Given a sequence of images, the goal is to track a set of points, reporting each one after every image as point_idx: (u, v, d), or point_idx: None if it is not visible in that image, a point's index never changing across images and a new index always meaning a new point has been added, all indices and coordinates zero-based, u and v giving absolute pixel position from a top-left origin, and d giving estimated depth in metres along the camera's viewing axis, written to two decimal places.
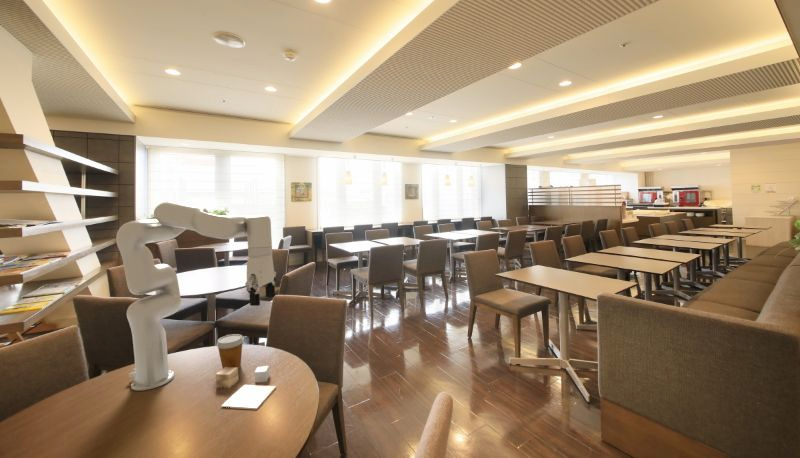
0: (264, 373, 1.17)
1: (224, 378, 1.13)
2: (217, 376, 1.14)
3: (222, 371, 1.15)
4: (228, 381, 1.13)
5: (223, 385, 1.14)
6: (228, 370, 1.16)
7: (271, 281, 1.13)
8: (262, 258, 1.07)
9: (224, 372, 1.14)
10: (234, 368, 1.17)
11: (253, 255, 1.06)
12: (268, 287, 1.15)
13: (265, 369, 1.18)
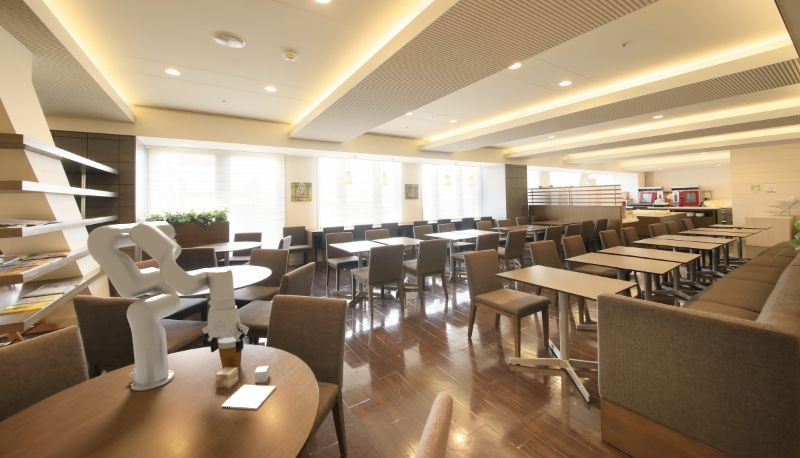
0: (264, 373, 1.17)
1: (224, 378, 1.13)
2: (217, 376, 1.14)
3: (222, 371, 1.15)
4: (228, 381, 1.13)
5: (223, 385, 1.14)
6: (228, 370, 1.16)
7: None
8: None
9: (224, 372, 1.14)
10: (234, 368, 1.17)
11: (232, 306, 1.13)
12: (214, 341, 1.15)
13: (265, 369, 1.18)
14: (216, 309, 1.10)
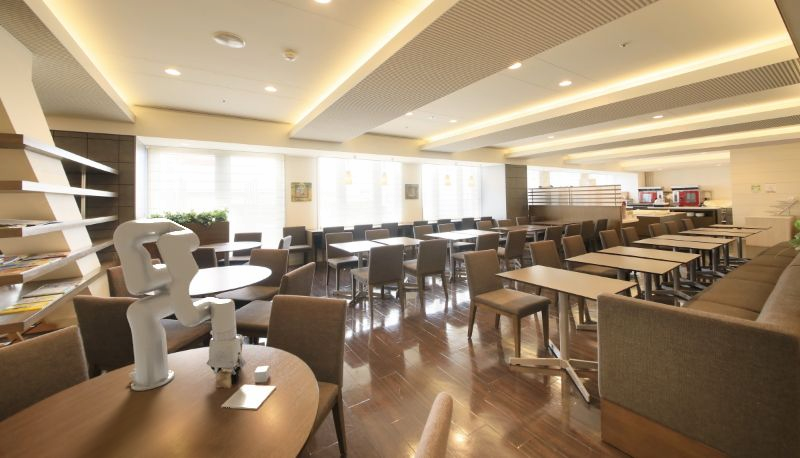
0: (264, 373, 1.17)
1: (224, 377, 1.13)
2: (217, 376, 1.14)
3: (222, 371, 1.15)
4: (228, 380, 1.13)
5: (223, 385, 1.14)
6: (228, 370, 1.16)
7: None
8: None
9: (224, 372, 1.14)
10: None
11: (233, 336, 1.14)
12: None
13: (265, 369, 1.18)
14: (218, 340, 1.11)
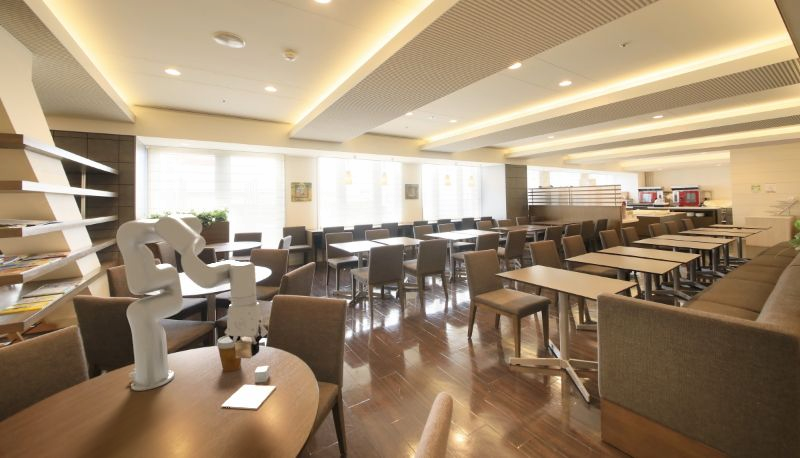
0: (264, 373, 1.17)
1: (244, 347, 1.04)
2: (236, 345, 1.04)
3: (241, 340, 1.06)
4: (249, 350, 1.04)
5: (243, 355, 1.04)
6: (248, 339, 1.06)
7: None
8: None
9: (244, 341, 1.05)
10: None
11: (254, 302, 1.04)
12: None
13: (265, 369, 1.18)
14: (237, 305, 1.01)
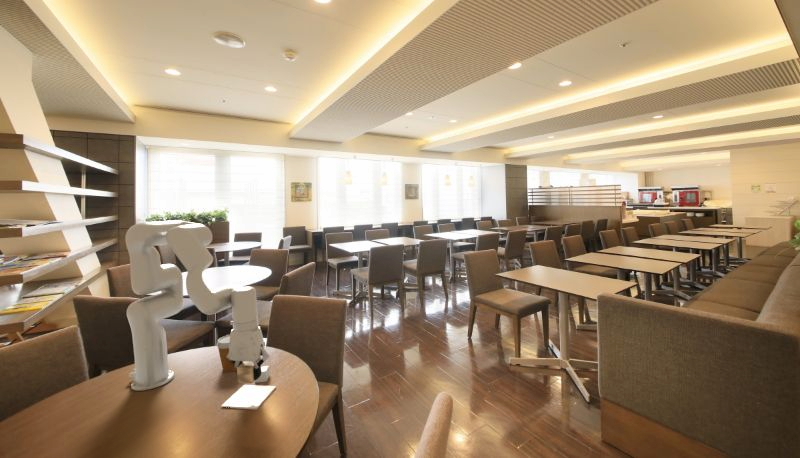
0: (264, 373, 1.17)
1: (246, 372, 1.04)
2: (238, 370, 1.05)
3: (243, 364, 1.06)
4: (251, 375, 1.04)
5: (245, 380, 1.05)
6: (250, 364, 1.07)
7: None
8: None
9: (246, 366, 1.05)
10: None
11: (255, 327, 1.05)
12: None
13: (265, 369, 1.18)
14: (239, 331, 1.02)
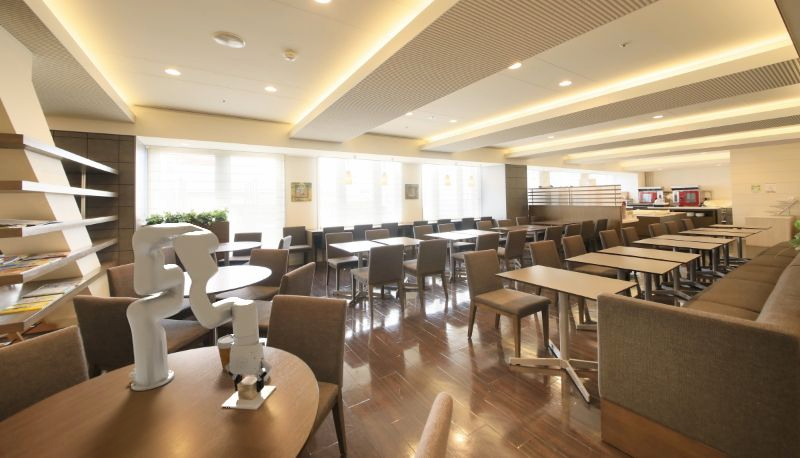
0: None
1: (246, 389, 1.05)
2: (239, 387, 1.05)
3: (244, 381, 1.07)
4: (251, 392, 1.05)
5: (245, 396, 1.05)
6: (250, 380, 1.07)
7: None
8: None
9: (246, 383, 1.06)
10: (256, 378, 1.09)
11: (256, 340, 1.05)
12: (238, 379, 1.07)
13: None
14: (240, 345, 1.02)
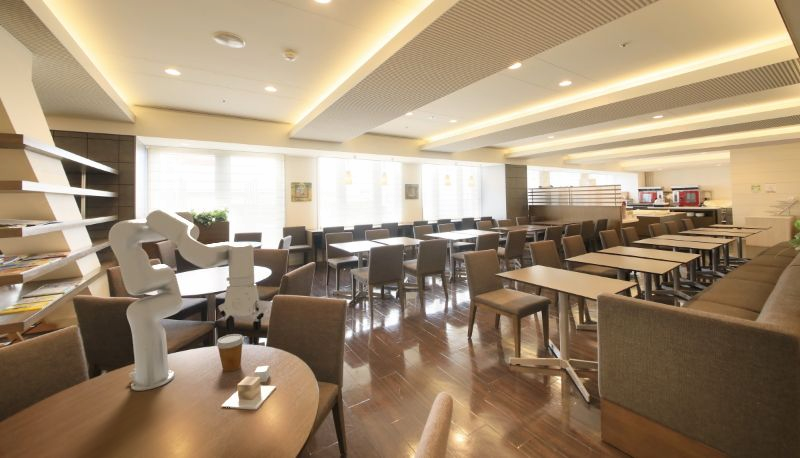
0: (264, 373, 1.17)
1: (246, 389, 1.05)
2: (239, 387, 1.05)
3: (244, 381, 1.07)
4: (251, 392, 1.05)
5: (245, 396, 1.05)
6: (250, 380, 1.07)
7: None
8: None
9: (246, 383, 1.06)
10: (256, 378, 1.09)
11: (251, 283, 1.06)
12: (230, 320, 1.08)
13: (265, 369, 1.18)
14: (235, 285, 1.03)
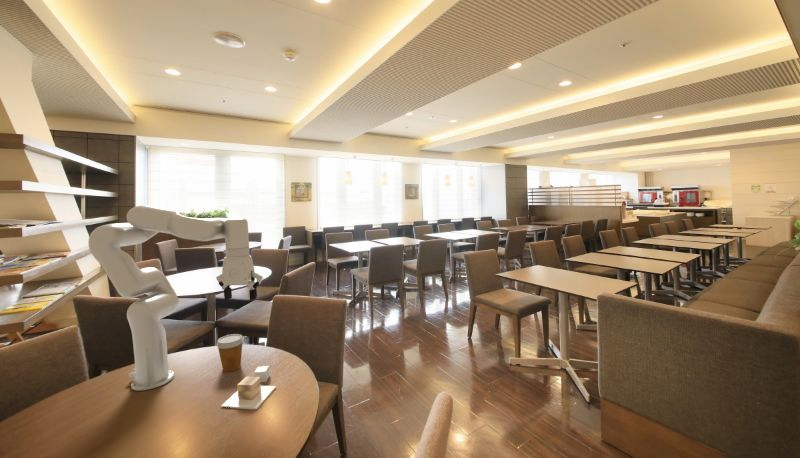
0: (264, 373, 1.17)
1: (246, 389, 1.05)
2: (239, 387, 1.05)
3: (244, 381, 1.07)
4: (251, 392, 1.05)
5: (245, 396, 1.05)
6: (250, 380, 1.07)
7: None
8: None
9: (246, 383, 1.06)
10: (256, 378, 1.09)
11: (247, 254, 1.14)
12: (228, 290, 1.16)
13: (265, 369, 1.18)
14: (231, 256, 1.11)
